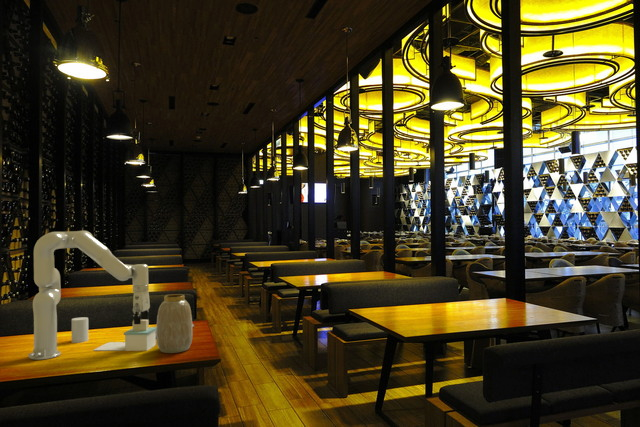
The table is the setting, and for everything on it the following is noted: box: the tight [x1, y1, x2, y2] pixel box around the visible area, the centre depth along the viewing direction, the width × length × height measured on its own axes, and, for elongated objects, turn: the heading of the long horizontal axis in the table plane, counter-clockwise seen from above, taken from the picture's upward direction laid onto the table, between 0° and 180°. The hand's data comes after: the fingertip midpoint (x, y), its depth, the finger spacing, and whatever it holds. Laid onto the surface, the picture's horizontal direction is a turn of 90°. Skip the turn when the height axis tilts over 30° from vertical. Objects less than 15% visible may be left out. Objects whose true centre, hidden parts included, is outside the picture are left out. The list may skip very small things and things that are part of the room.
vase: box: [156, 293, 193, 354], centre depth 231 cm, size 17×17×27 cm
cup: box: [71, 316, 89, 344], centre depth 252 cm, size 8×8×12 cm
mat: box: [93, 341, 125, 352], centre depth 238 cm, size 15×15×1 cm
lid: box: [123, 319, 157, 336], centre depth 236 cm, size 12×12×7 cm
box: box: [124, 331, 157, 352], centre depth 236 cm, size 11×11×8 cm
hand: (141, 322), depth 236 cm, fingers open, 9 cm apart
